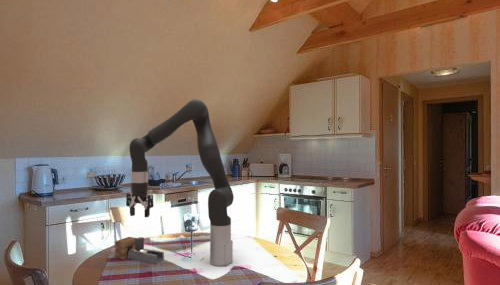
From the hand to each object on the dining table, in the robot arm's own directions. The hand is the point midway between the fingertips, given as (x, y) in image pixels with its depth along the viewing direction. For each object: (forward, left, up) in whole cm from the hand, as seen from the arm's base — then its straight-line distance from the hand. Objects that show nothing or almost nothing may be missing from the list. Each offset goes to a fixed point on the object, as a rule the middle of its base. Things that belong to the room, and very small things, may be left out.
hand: (139, 216), depth 151 cm
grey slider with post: (+3, 0, -18) cm, 18 cm away
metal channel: (-4, 0, -19) cm, 20 cm away
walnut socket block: (+8, 0, -19) cm, 21 cm away
